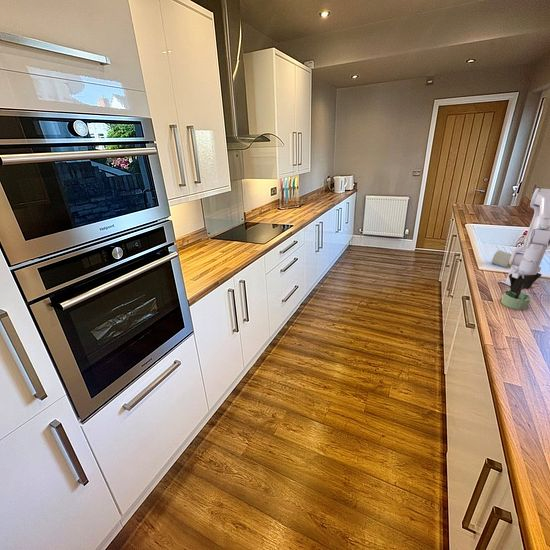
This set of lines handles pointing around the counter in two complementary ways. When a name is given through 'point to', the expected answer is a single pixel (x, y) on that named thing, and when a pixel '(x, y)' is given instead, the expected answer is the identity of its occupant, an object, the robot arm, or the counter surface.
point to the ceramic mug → (501, 258)
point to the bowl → (515, 300)
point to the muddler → (518, 292)
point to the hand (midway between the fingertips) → (519, 290)
